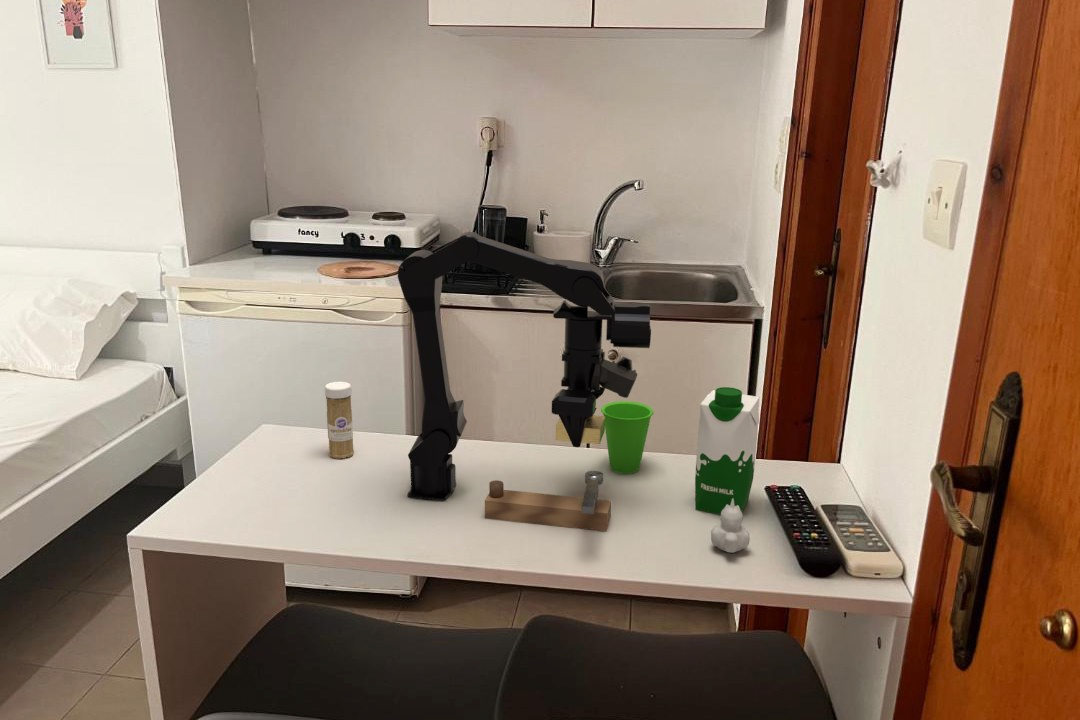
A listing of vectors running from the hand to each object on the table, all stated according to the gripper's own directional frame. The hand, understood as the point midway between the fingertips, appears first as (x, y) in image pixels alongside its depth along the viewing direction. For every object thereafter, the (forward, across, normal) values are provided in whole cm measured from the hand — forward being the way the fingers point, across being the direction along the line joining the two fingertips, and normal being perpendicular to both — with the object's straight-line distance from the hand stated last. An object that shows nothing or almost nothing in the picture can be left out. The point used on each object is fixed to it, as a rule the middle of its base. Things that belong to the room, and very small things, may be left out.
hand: (579, 439), depth 136 cm
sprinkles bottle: (+10, +8, +45) cm, 47 cm away
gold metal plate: (-1, 0, 0) cm, 1 cm away
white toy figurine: (+10, -12, -24) cm, 29 cm away
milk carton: (+10, +2, -23) cm, 25 cm away
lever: (+3, -13, -4) cm, 14 cm away
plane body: (+10, -8, +3) cm, 14 cm away
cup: (+10, +14, -6) cm, 18 cm away
